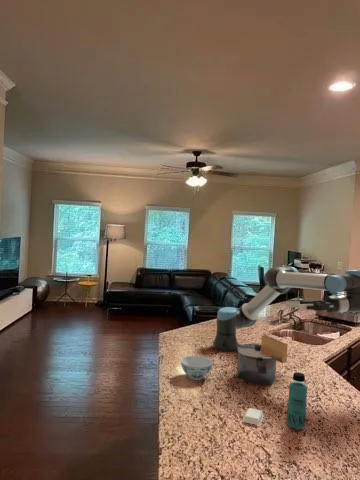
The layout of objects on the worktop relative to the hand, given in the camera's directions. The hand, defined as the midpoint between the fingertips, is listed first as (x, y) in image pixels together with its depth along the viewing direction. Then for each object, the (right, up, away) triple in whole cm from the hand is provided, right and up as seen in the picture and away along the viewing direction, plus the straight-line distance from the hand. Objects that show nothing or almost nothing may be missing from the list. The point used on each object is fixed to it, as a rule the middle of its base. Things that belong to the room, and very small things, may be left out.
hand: (292, 305), depth 175 cm
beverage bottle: (-10, -38, -37) cm, 54 cm away
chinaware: (-44, -35, +6) cm, 57 cm away
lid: (-12, -24, +5) cm, 27 cm away
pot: (-15, -36, +7) cm, 40 cm away
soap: (-24, -37, -32) cm, 55 cm away
